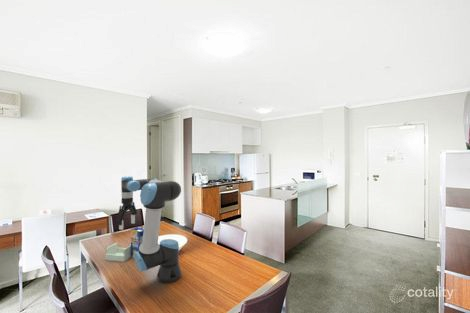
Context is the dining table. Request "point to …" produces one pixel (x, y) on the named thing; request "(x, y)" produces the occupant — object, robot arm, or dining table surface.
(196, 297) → the dining table surface
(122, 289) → the dining table surface
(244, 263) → the dining table surface
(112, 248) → the crate
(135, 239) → the beverage box
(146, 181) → the robot arm
